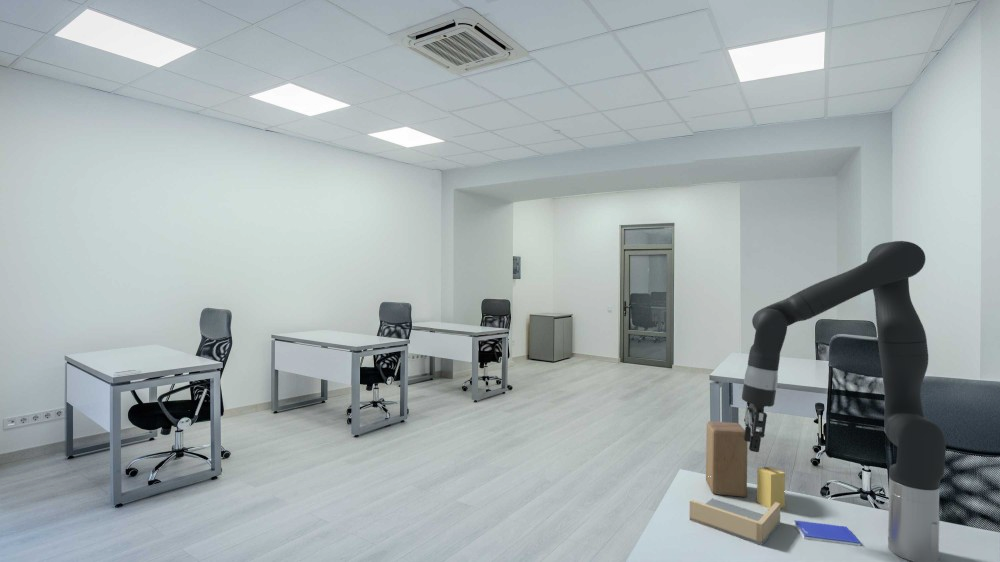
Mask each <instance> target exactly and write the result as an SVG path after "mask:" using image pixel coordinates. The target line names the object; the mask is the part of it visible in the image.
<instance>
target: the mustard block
mask: <svg viewBox="0 0 1000 562" xmlns="http://www.w3.org/2000/svg"><path fill="white" fill-rule="evenodd" d="M756 469H757V478H756V479H757V482H756V483H757V485H756V489H757V490H756V502H757V503H758V504H760V505H761V506H764V507H765V508H767V509H768V510H769V509H770V508H771V506H772V505H773V504H774V503H775V502H777V503H780V509H783V508H784V507H785V506H786V505H785V504H786V503H785V502H786V473H785V471H782V470H779V469H778V468H775V467H774V466H763V467H757V468H756ZM784 491H785V492H784ZM785 508H786V507H785Z"/></svg>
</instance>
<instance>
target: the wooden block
mask: <svg viewBox="0 0 1000 562" xmlns="http://www.w3.org/2000/svg"><path fill="white" fill-rule="evenodd" d="M705 433H706V435H705V437H706V442H705V443H706V444H705V446H706V448H705V449H706V453H705V481H706V484H707V485H708V487H709V490H710V491H711V493H712V494H714V495H721V496H731V497H743V498H744V497H747V493H748V492H747V491H748V441H745V440H744V434H745V429H744V428H743V426H742V425H741V424H740V423H738V422H728V421H727V422H726V421H712V420H711V421H707V422H706V432H705ZM708 476H709V477H708ZM710 476H711V477H710Z"/></svg>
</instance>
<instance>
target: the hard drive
mask: <svg viewBox="0 0 1000 562" xmlns="http://www.w3.org/2000/svg"><path fill="white" fill-rule="evenodd" d="M792 523H793V525H794V526H795V528H796V529H797V530H798V532H799V533H800V535H801V536H802V538H803V539H804V540H805V539H806V540H813V541H819V540H820V542H827V541H832V542H831V543H835V542H839V543H838V544H843V543H844V544H843V545H852V546H859V547H860V546H861V542H860V540H859V539H858V538H857V537H856V536H855V534H854V533H853V532H851V530H850V529H849V528H848V526H844V525H835V524H829V523H819V522H818V523H817V522H811V521H803V520H795V519H794V520H793V522H792Z"/></svg>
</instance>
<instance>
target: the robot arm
mask: <svg viewBox="0 0 1000 562" xmlns="http://www.w3.org/2000/svg"><path fill="white" fill-rule="evenodd" d="M925 265H926V254H925V252H924V250H923V249H922V248H921V246H919V244H916V243H914V242H911V241H907V240H906V241H905V240H895V241H888V242H882V243H880V244H877V245H876V246H874V247H872V249H871V250H870V252H869V253H868V255H867V258H866V261H865V262H863V263H862V264H860V265H858V266H856V267H854V268H852V269H849V270H848V271H844V272H842V273H839V274H837V275H835V276H831V277H829V278H827V279H823V280H821V281H819V282H817V283H814V284H812V285H809V286H807V287H805V288H804V289H802V290H799V291H798V292H795V293H794V294H792V295H791V296H789V297H787V298H784V299H783V300H779V301H777V302H774V303H772V304H770V305H767V306H765V307H762V308H761V309H759V310H758V311H756V312H755V313H754V315H753V317H752V320H751V321H752V322H751V323H752V326H753V328H754V330H755V334H754V341H753V344H752V345H751V347H750V348H749V353H748V359H747V367H746V370H745V374H744V378H743V379H744V380H743V386H742V393H741V399H742V401H744V402H746V407H745V413H744V414H745V415H744V419H743V421H744V426H745V429H744V430H745V434H744V440H745V441H747V443H749V444H748V449H749V451H750V452H754V453H759V452H760V446H761V440H762V439H763V438H764V437H765V436H766V435H765V430H766V424H767V418H768V414H767V413H766V412H765V407H768V408H771V407H774V405H775V402H776V401H775V400H776V394H777V387H778V377H779V375H778V374H779V367H780V366H779V365H780V360H781V359H780V358H781V352H782V348H783V345H784V342H785V340H786V336H787V332H788V327H789V326H791V325H793V324H795V323H798V322H803V321H807V320H810V319H812V318H814V317H817V316H818V315H821V314H823V313H825V312H827V311H828V310H830V309H833V308H835V307H837V306H838V305H841V304H843V303H845V302H847V301H849V300H851V299H854V298H855V297H857V296H859V295H861V294H864V293H866V292H869V291H871V290H872V291H873V292H872V293H873V297H874V304H875V305H874V306H875V308H874V309H875V319H876V320H875V321H876V329H877V331H876V332H877V342H878V343H877V344H878V351H879V352H878V354H879V360H880V366H881V376H882V381H883V383H882V384H883V388H884V421H883V423H884V426H883V427H884V433H885V435H886V438H887V439H888V440H889V441H890V442H891V443H892V444H893V445H894V446H896V447H897V450H896V451H897V452H896V463H893V464H892V465H890V467H889V470H888V471H889V472H888V473H889V474H888V477H889V478H888V524H887V525H888V526H887V527H888V528H887V530H888V531H887V532H888V534H887V535H888V536H887V543H888V544H887V547H888V549H889V551H890V552H891V553H893V554H895V555H897V556H898V557H900V558H902V559H904V560H908V561H910V562H939V556H940V485H941V484H940V482H941V480H942V479H943V477H944V474H945V465H946V448H947V444H946V437H945V435H944V431H943V430H942V428H941V427H940V426H938V425H937V424H936V423H934V422H933V421H931V420H929V419H927V418H926V417H925V415H924V410H923V404H922V397H921V391H922V390H921V389H922V385H923V381H924V378H925V375H926V373H927V371H928V366H929V349H928V341H927V340H928V339H927V334H926V330H925V327H924V326H923V322H922V321H921V319H920V317H919V315H918V313H917V311H916V308H915V306H914V304H913V302H912V299H911V294H910V281H909V278H912V277H913V276H915V275H917V274H918V273H920V272H921V271H922V269H923V268H924V266H925ZM757 430H759V431H757Z"/></svg>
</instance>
